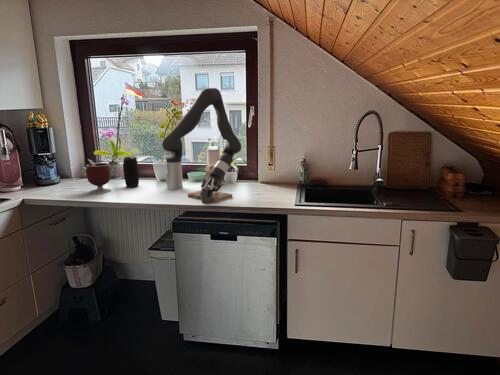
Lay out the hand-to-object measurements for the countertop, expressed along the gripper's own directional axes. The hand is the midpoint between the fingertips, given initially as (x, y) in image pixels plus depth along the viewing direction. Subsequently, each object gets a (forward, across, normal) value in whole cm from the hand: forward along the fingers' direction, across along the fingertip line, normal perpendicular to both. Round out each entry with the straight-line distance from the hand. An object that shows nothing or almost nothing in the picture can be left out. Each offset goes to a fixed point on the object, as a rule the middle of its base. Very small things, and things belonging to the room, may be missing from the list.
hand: (204, 195), depth 192 cm
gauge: (-1, 0, +6) cm, 6 cm away
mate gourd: (+17, -74, -10) cm, 77 cm away
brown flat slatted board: (-5, -8, +11) cm, 14 cm away
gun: (-22, -29, +28) cm, 46 cm away
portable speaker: (+2, -71, +5) cm, 71 cm away
